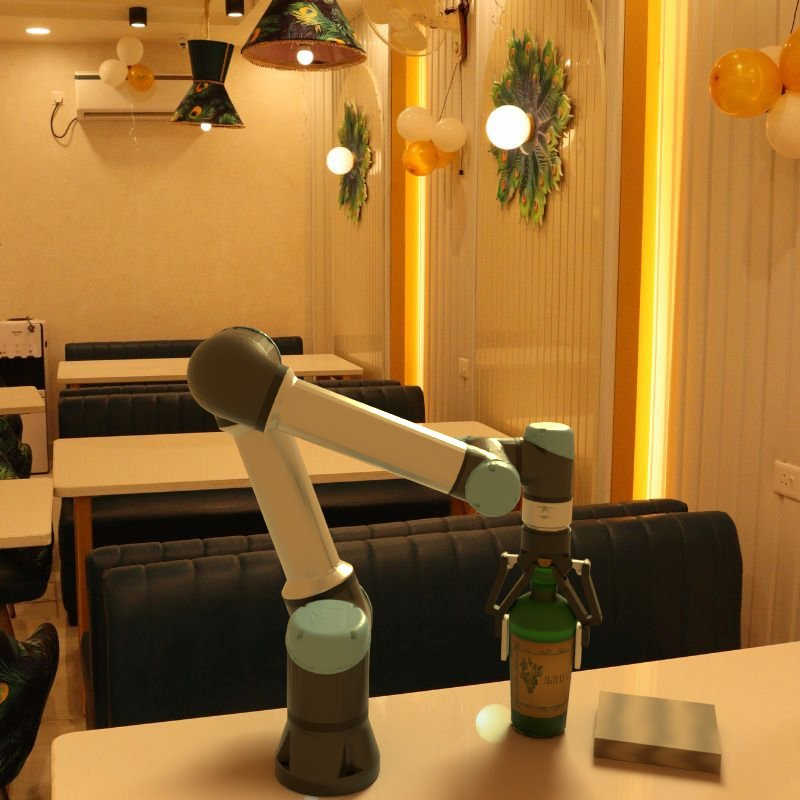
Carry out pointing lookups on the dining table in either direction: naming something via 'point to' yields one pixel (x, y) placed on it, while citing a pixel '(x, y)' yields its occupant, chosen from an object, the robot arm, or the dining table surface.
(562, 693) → the bottle
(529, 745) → the dining table surface
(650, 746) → the walnut riser
